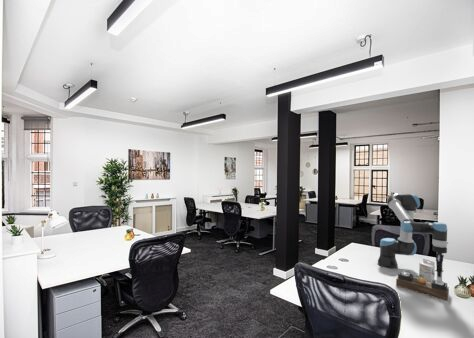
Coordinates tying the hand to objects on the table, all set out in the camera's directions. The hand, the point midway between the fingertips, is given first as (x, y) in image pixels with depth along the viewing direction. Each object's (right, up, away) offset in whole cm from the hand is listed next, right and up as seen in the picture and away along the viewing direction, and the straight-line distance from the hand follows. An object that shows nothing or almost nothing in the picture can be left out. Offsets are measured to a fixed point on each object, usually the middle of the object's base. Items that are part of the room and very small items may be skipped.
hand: (439, 281), depth 163 cm
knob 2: (0, -4, 0) cm, 4 cm away
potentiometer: (-7, -4, +7) cm, 11 cm away
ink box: (+11, -10, +24) cm, 28 cm away
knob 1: (-14, -4, +13) cm, 20 cm away
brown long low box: (-7, -9, +7) cm, 13 cm away
